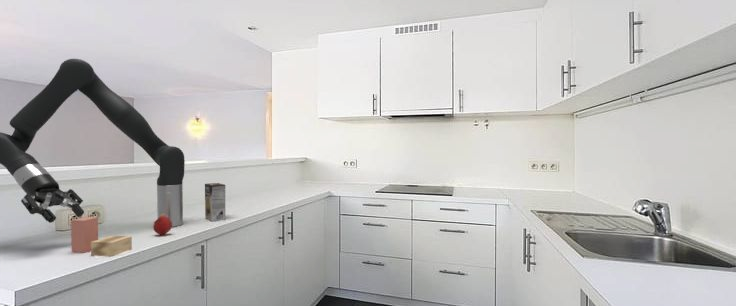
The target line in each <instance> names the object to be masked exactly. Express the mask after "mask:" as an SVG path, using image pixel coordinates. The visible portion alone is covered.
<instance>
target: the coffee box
mask: <svg viewBox="0 0 736 306" xmlns="http://www.w3.org/2000/svg"><path fill="white" fill-rule="evenodd" d="M204 209H205V210H204V211H205V213H204V214H205V219H206V220H208V221H210V222H217V221H223V220H226V184H223V183H220V182H217V183H216V182H213V183H204Z"/></svg>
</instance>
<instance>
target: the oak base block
mask: <svg viewBox="0 0 736 306" xmlns="http://www.w3.org/2000/svg"><path fill="white" fill-rule="evenodd" d="M132 242H133V241H132V236H131V235H130V236H128V235H127V236H126V235H110V236H107V237H103V238H100V239H99V238H98V240H96V241H92V242H91V251H90V255H91V256H94V255H97V256H107V257H113V256H117V255H116V254H118V255H120V254H119V253H122V252H125V251H127V250H130V251H131V250H132V248H133V246H132Z"/></svg>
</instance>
